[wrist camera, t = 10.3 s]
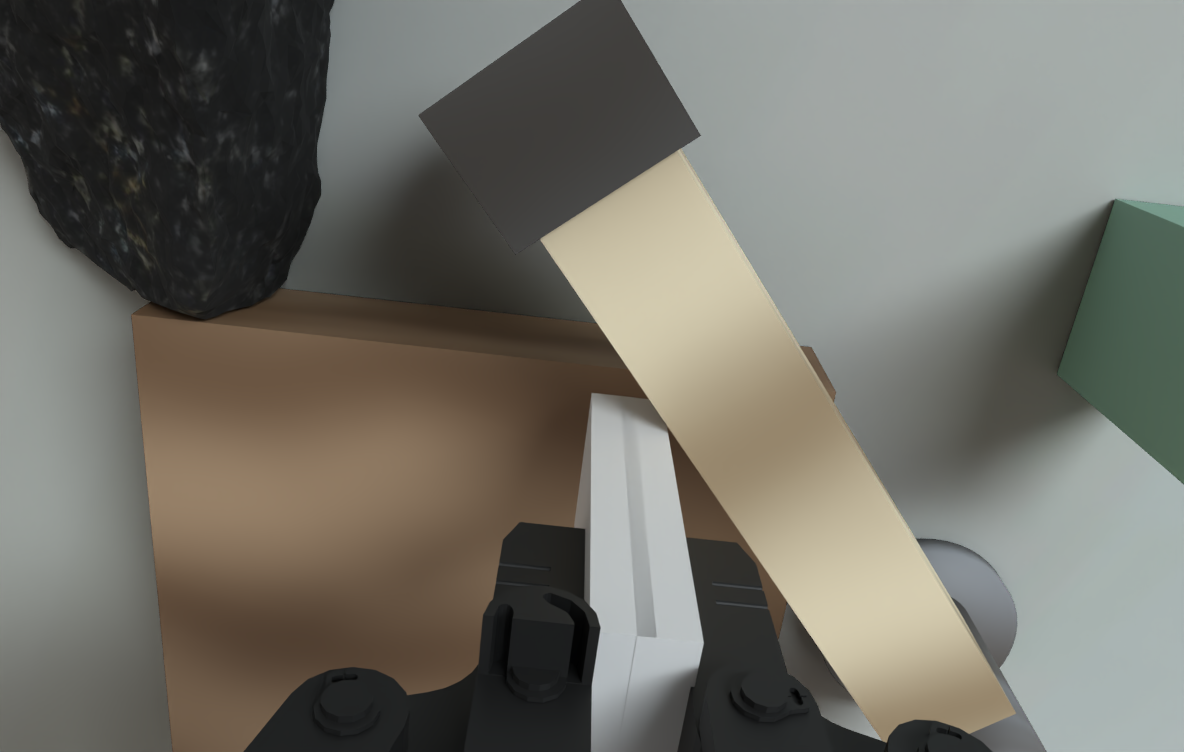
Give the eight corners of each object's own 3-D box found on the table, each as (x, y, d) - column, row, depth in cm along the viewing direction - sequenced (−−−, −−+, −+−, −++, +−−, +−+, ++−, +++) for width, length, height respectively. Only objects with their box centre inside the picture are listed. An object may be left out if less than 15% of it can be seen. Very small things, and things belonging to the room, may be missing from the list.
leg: (977, 604, 20) (1040, 712, 17) (843, 666, 20) (882, 780, 17) (610, -17, 15) (609, -20, 12) (455, 92, 16) (417, 115, 13)
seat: (187, 278, 20) (-8, 406, 14) (1091, 378, 21) (1300, 547, 14) (219, 754, 26) (89, 1000, 19) (934, 826, 26) (1034, 1091, 20)
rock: (31, 251, 20) (-182, 344, 15) (-34, -300, 16) (-354, -445, 11) (346, 291, 20) (248, 397, 15) (358, -244, 16) (231, -361, 11)
